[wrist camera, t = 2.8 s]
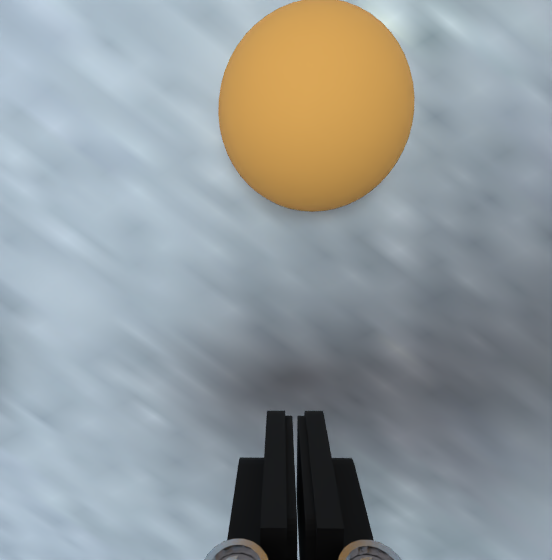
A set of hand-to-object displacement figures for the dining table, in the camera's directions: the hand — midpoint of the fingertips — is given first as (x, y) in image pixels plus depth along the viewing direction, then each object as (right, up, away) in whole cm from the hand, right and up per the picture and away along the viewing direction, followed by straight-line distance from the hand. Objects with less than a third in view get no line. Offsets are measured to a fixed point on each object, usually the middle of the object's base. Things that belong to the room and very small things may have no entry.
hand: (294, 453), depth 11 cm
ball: (+1, +10, 0) cm, 10 cm away
